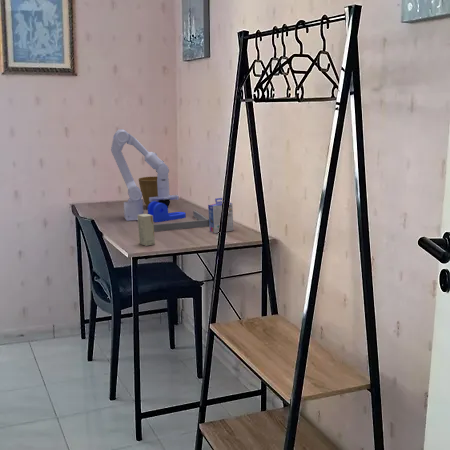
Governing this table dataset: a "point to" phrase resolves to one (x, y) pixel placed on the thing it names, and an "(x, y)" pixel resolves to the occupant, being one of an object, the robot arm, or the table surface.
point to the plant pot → (148, 188)
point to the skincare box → (146, 229)
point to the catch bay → (184, 223)
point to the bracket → (163, 212)
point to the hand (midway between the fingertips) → (164, 214)
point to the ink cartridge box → (216, 214)
